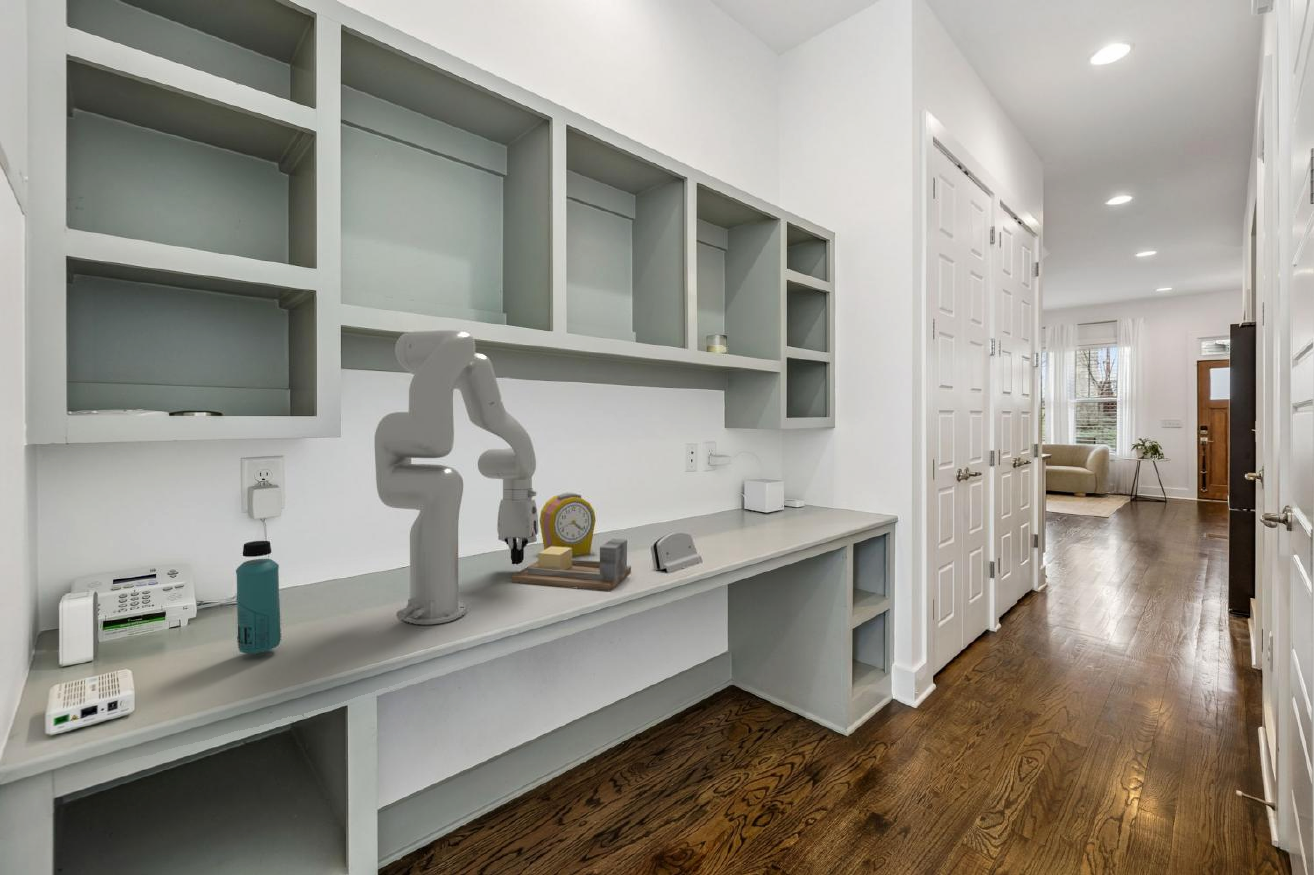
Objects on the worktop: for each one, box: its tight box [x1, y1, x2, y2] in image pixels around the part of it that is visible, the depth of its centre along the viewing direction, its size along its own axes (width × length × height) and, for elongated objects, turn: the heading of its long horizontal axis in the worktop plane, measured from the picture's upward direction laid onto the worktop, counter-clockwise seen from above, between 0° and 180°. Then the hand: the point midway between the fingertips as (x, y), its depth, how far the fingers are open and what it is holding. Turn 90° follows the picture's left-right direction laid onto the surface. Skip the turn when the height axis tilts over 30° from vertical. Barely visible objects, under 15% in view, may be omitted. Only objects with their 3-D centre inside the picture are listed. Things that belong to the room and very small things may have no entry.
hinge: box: [650, 532, 703, 574], centre depth 168 cm, size 17×5×10 cm, turn 141°
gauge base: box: [510, 538, 632, 592], centre depth 155 cm, size 18×26×10 cm
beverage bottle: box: [235, 540, 283, 654], centre depth 104 cm, size 6×7×20 cm
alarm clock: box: [539, 492, 597, 557], centre depth 180 cm, size 15×8×18 cm, turn 123°
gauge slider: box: [537, 546, 573, 570], centre depth 159 cm, size 13×6×5 cm, turn 166°
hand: (517, 562), depth 159 cm, fingers closed
